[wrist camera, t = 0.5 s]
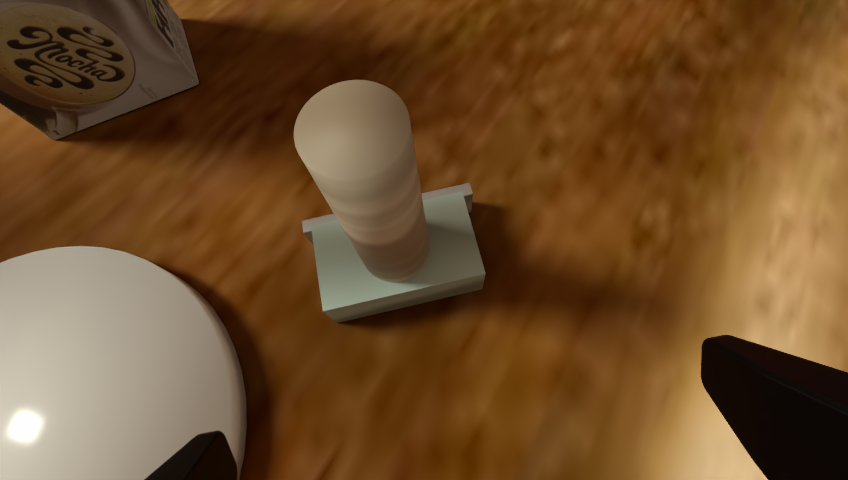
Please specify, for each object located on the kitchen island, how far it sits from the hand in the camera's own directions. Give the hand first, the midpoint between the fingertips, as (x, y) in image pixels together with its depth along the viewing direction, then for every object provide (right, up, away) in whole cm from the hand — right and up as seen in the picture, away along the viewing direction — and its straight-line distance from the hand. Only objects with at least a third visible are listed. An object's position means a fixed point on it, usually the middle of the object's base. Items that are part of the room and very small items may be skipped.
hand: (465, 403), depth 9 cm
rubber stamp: (-2, +2, +14) cm, 14 cm away
